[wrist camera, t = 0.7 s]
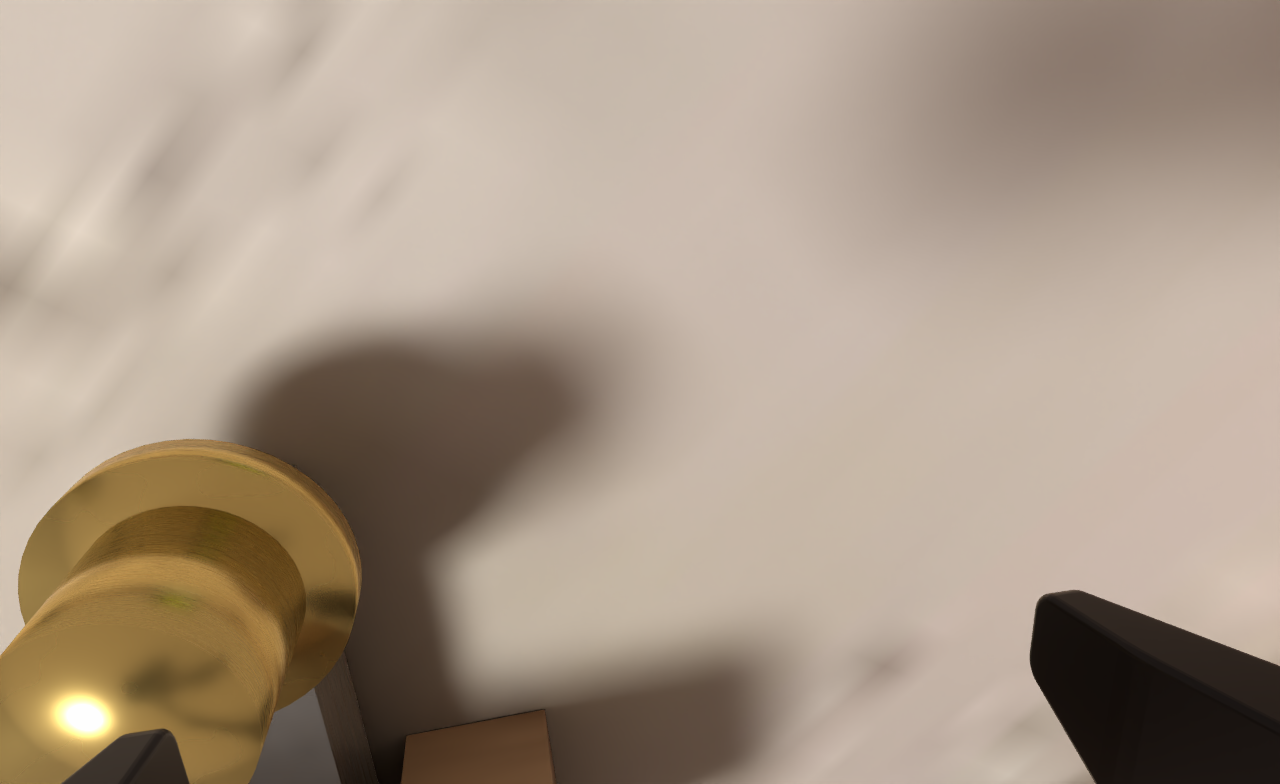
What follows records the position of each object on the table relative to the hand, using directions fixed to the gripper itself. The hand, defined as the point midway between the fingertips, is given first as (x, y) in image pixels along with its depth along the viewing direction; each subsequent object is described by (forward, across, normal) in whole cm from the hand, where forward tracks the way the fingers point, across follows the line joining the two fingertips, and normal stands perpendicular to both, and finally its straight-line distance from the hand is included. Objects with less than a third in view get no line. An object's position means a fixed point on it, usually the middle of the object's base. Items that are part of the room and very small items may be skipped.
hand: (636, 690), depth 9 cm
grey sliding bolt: (+13, +8, +10) cm, 18 cm away
